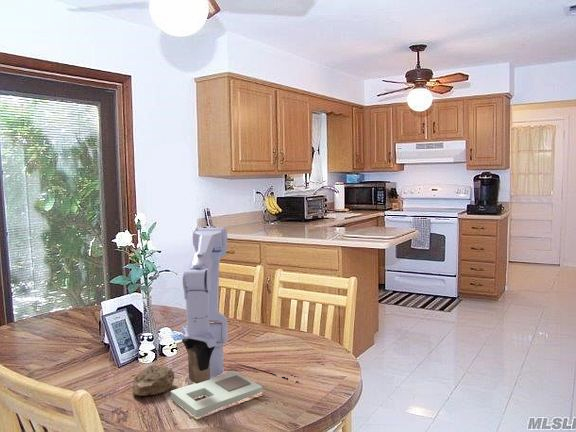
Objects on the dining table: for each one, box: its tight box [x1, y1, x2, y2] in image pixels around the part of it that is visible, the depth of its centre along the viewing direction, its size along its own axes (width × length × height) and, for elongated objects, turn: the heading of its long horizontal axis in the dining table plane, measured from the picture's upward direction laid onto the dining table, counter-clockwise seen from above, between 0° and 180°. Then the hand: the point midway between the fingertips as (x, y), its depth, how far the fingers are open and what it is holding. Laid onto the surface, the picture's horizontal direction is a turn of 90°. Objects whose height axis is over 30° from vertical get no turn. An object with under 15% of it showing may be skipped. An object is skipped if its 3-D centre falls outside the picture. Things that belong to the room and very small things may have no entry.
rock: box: [132, 364, 175, 397], centre depth 134 cm, size 13×11×5 cm
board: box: [170, 370, 264, 417], centre depth 128 cm, size 14×20×3 cm
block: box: [187, 347, 210, 384], centre depth 124 cm, size 4×4×8 cm
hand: (199, 366), depth 125 cm, fingers closed on block, 4 cm apart
